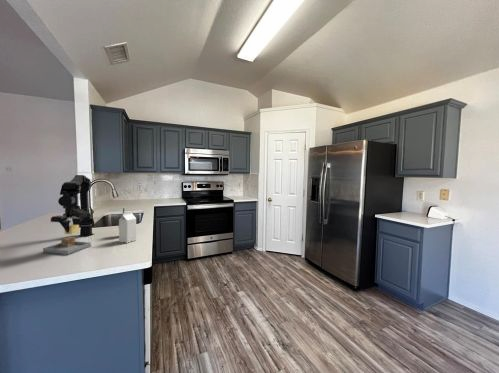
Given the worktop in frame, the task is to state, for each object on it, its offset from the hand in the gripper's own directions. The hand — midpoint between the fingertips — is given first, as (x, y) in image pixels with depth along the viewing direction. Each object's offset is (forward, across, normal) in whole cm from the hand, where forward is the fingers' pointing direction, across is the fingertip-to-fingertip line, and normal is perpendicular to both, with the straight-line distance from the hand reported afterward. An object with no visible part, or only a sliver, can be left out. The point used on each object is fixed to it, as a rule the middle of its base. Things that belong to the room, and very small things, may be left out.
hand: (71, 231), depth 124 cm
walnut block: (+10, +4, +7) cm, 13 cm away
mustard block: (+1, 0, 0) cm, 1 cm away
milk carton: (+11, +22, -19) cm, 31 cm away
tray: (+11, +1, +3) cm, 11 cm away
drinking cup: (+11, +31, -9) cm, 34 cm away
